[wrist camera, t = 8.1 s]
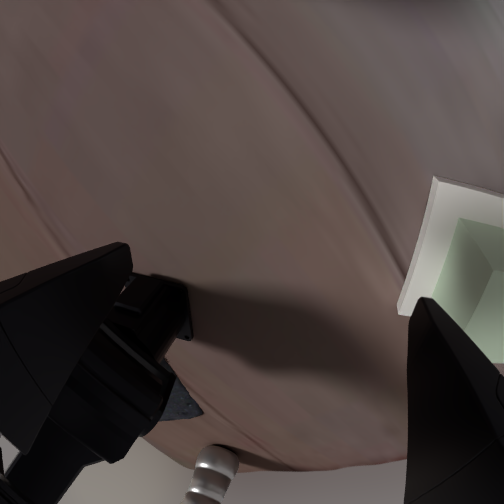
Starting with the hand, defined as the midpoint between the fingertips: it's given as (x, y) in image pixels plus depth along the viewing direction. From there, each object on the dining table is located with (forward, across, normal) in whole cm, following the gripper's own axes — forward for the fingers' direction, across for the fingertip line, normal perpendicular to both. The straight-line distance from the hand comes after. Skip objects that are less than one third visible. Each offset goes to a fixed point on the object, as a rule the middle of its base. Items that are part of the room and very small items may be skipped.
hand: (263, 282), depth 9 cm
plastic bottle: (+12, +7, +44) cm, 46 cm away
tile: (+12, -13, +4) cm, 18 cm away
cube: (+11, -13, +4) cm, 17 cm away
